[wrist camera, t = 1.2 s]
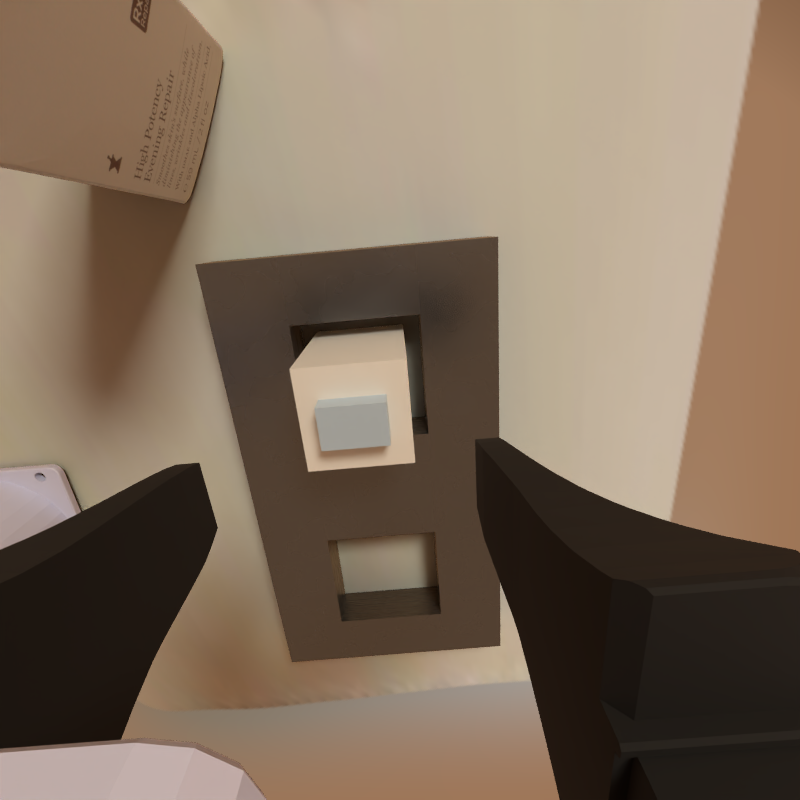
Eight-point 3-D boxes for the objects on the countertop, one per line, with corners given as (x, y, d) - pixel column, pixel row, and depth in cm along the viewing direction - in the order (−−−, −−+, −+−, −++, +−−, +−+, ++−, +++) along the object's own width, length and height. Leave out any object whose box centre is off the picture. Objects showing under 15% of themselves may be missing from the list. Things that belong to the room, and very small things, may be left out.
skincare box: (193, 207, 18) (-121, 168, 7) (83, 162, 18) (-455, 40, 6) (229, 41, 16) (-127, -378, 5) (107, -16, 16) (-614, -646, 4)
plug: (329, 410, 22) (304, 483, 16) (317, 331, 20) (284, 376, 14) (409, 403, 22) (416, 473, 15) (402, 324, 20) (407, 365, 14)
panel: (298, 632, 27) (292, 661, 25) (214, 261, 19) (195, 264, 17) (492, 616, 27) (500, 645, 25) (487, 236, 19) (497, 236, 17)
